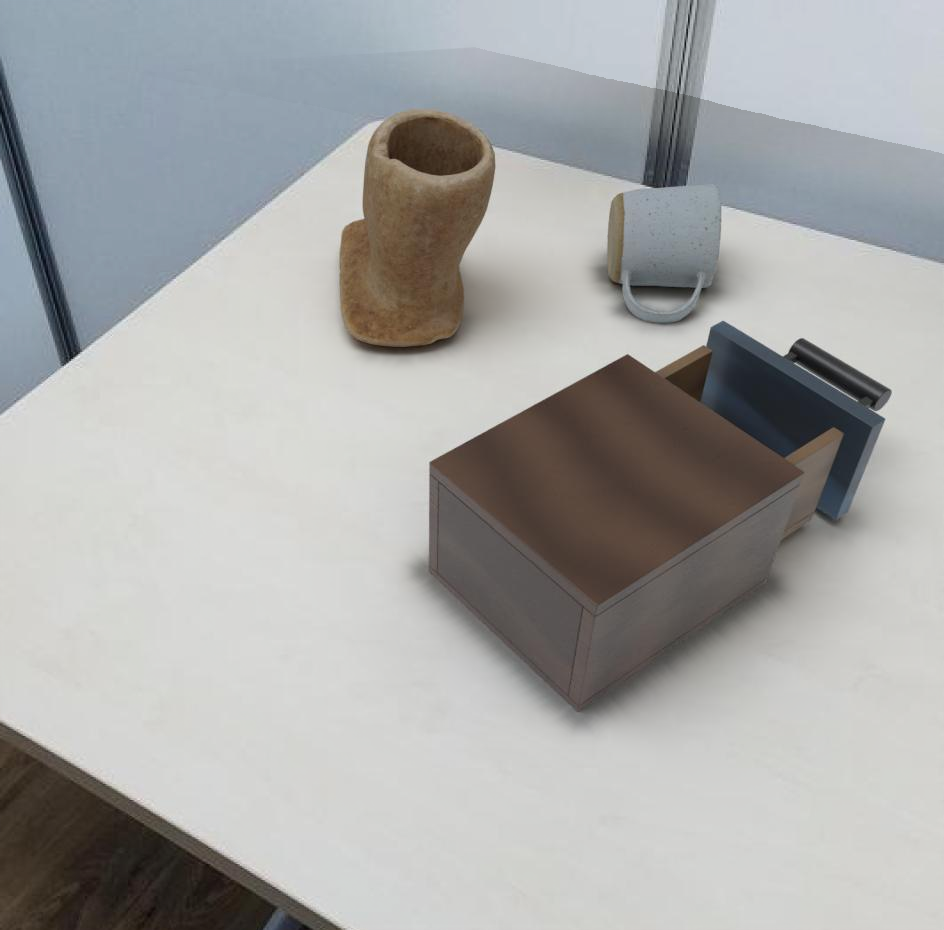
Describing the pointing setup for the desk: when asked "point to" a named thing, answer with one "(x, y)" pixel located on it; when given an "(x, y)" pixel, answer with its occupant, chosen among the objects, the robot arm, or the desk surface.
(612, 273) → the ceramic mug
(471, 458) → the cabinet
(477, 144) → the stone cup
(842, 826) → the desk surface
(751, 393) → the drawer
